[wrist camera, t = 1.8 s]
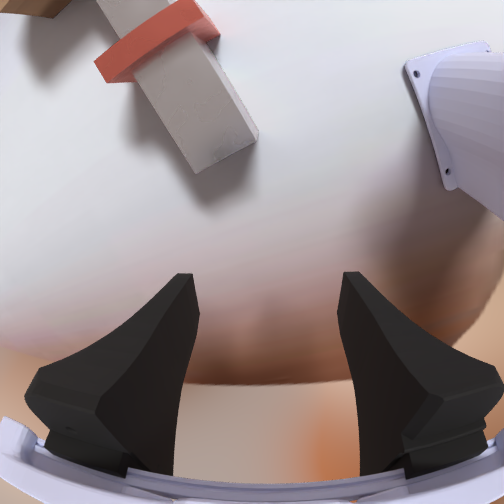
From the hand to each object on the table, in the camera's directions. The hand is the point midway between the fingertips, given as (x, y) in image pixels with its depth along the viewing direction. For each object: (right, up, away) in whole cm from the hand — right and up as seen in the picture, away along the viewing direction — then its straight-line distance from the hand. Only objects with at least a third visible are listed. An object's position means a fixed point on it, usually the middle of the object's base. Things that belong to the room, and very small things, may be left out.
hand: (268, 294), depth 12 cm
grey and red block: (-6, +14, +3) cm, 16 cm away
